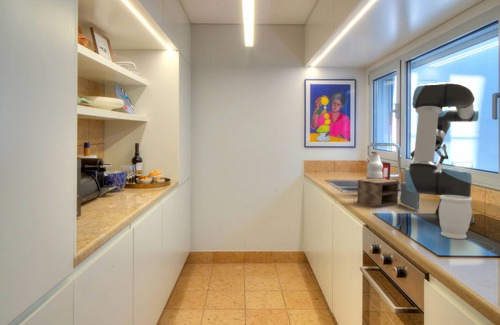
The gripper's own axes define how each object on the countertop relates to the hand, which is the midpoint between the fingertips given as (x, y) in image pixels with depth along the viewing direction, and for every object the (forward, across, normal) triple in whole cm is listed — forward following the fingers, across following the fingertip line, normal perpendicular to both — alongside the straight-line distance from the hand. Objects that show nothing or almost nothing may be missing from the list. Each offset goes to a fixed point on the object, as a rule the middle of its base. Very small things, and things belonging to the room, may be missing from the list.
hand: (424, 166), depth 190 cm
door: (+28, -2, 0) cm, 28 cm away
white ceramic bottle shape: (+18, +28, -12) cm, 35 cm away
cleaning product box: (+4, +36, -27) cm, 45 cm away
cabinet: (+32, +14, +3) cm, 35 cm away
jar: (+56, -36, +28) cm, 72 cm away
